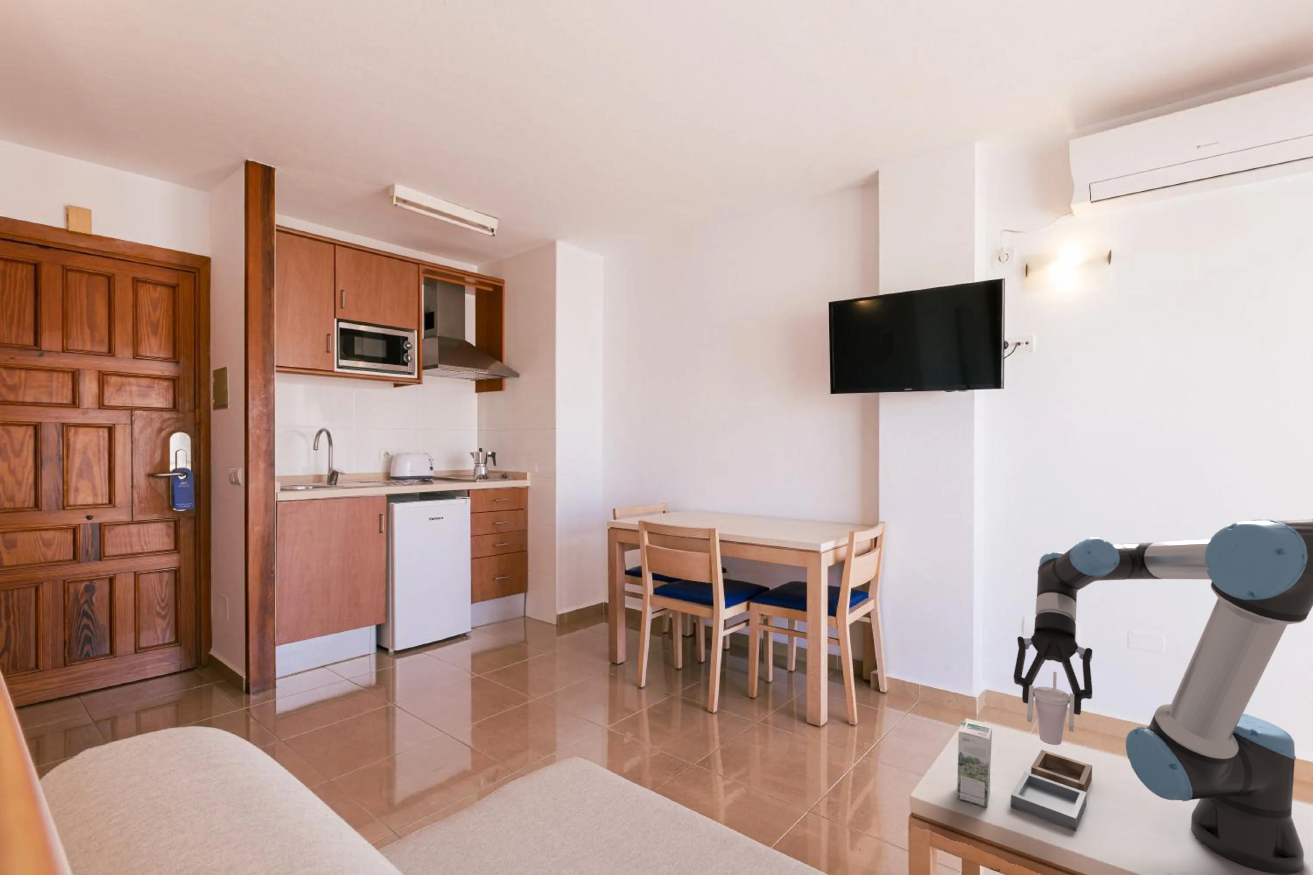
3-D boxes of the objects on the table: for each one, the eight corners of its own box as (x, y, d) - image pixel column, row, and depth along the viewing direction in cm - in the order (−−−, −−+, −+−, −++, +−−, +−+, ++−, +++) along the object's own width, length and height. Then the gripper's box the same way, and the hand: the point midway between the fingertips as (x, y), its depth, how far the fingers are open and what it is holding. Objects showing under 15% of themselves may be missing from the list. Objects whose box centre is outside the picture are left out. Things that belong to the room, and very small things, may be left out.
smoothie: (1074, 750, 127) (1076, 679, 126) (1038, 746, 128) (1039, 677, 128) (1061, 733, 133) (1063, 667, 133) (1027, 730, 135) (1028, 664, 134)
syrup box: (990, 793, 133) (992, 725, 132) (987, 809, 128) (989, 737, 127) (960, 785, 136) (961, 718, 136) (956, 799, 131) (957, 730, 131)
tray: (1086, 804, 130) (1086, 792, 130) (1075, 831, 122) (1076, 818, 121) (1024, 782, 137) (1025, 771, 137) (1010, 806, 129) (1011, 794, 129)
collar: (1091, 778, 139) (1092, 765, 138) (1083, 798, 132) (1083, 784, 131) (1041, 762, 145) (1041, 749, 145) (1030, 780, 138) (1031, 766, 138)
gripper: (1108, 636, 137) (1108, 744, 124) (1006, 620, 148) (996, 718, 135) (1110, 618, 133) (1110, 729, 120) (1004, 603, 143) (993, 703, 130)
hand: (1050, 723), depth 127 cm, fingers closed on smoothie, 6 cm apart
